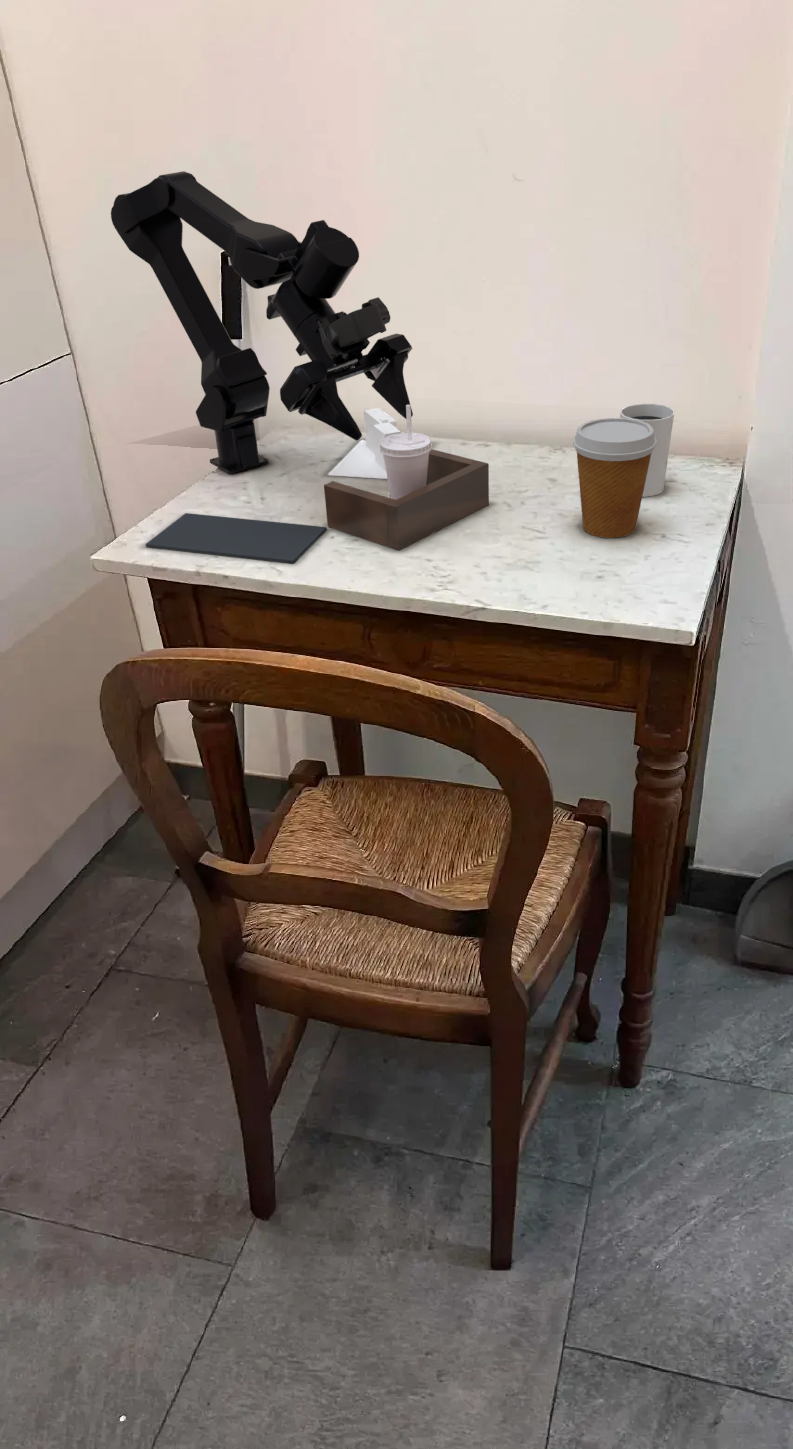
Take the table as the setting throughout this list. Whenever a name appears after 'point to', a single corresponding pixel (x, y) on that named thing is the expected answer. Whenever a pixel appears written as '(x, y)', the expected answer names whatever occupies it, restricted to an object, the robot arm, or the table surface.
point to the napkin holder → (368, 448)
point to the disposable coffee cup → (612, 473)
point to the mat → (237, 537)
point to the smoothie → (406, 460)
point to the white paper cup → (662, 428)
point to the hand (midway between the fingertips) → (385, 427)
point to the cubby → (411, 503)
